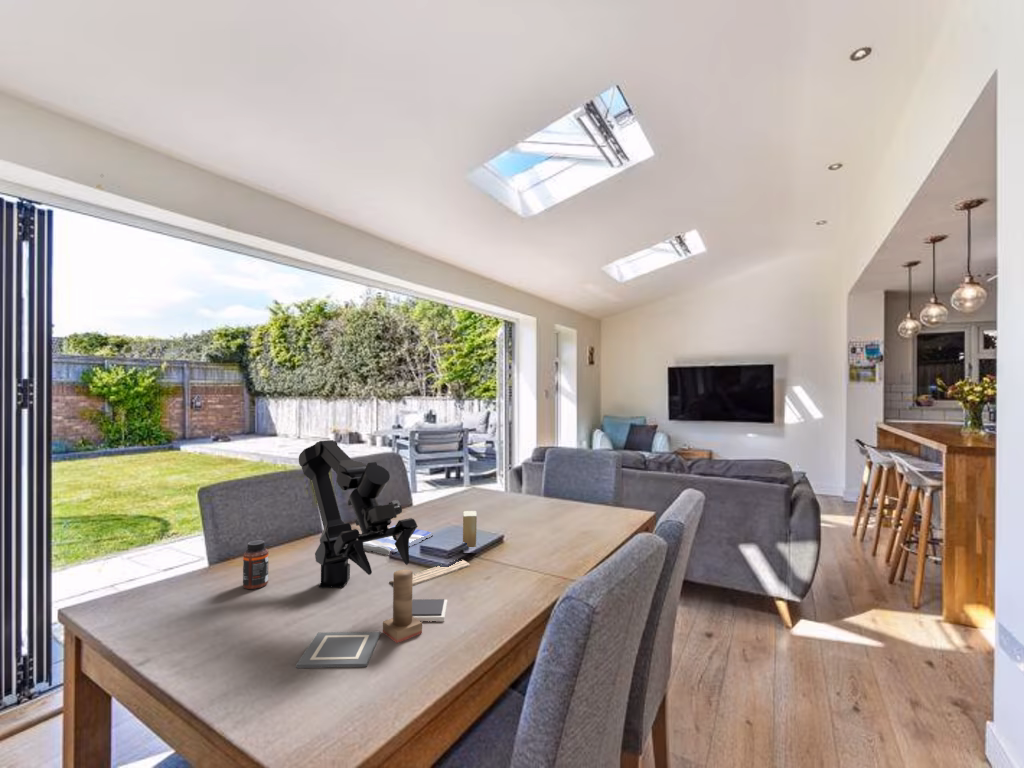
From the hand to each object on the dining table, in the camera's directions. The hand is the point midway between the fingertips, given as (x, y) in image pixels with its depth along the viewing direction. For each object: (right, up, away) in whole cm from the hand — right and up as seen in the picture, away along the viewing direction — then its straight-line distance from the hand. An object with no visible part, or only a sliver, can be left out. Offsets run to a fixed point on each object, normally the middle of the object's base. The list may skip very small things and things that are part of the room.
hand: (389, 568), depth 110 cm
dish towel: (-13, -13, +57) cm, 60 cm away
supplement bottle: (-40, -12, +19) cm, 46 cm away
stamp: (+4, -12, -4) cm, 13 cm away
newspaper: (+4, -13, +29) cm, 32 cm away
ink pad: (+7, -12, +5) cm, 15 cm away
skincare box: (+14, -13, +48) cm, 52 cm away
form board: (-7, -12, -12) cm, 18 cm away
